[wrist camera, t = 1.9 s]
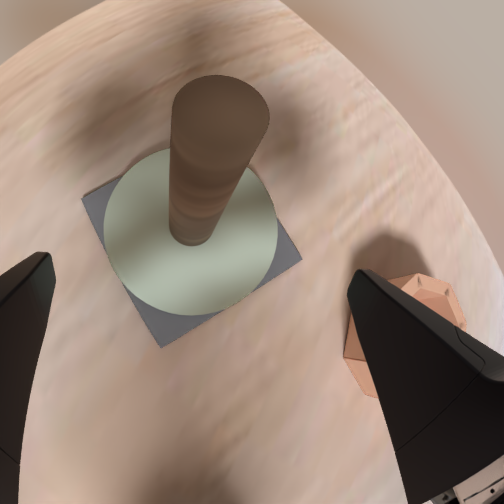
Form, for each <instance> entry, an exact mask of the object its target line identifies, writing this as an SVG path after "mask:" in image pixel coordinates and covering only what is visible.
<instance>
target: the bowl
mask: <svg viewBox="0 0 504 504" xmlns="http://www.w3.org/2000/svg"><path fill="white" fill-rule="evenodd" d="M387 281H389V282H390V283H392V284H393V285H395V286H397V287H398V288H400V289H401V290H403V291H404V292H406V293H407V294H409V295H411V296H412V297H414V298H415V299H417V300H418V301H420V302H421V303H423V304H424V305H426V306H427V307H429V308H430V309H432V310H433V311H435V312H436V313H438V314H439V315H441V316H442V317H444V318H445V319H447V320H448V321H450V322H451V323H453V325H456V326H457V327H459V328H460V329H462V330H463V331H464V332H466V325H467V324H466V320H465V317H464V315H463V312H462V310H461V308H460V305H459V303H458V300H457V298H456V296H455V293H454V291H453V289H452V287H451V285H450V284H449V283H447V282H444V281H441V280H438V279H435V278H432V277H429V276H426V275H423V274H420V273H416V274H412V275H407V276H403V277H398V278H394V279H389V280H387ZM343 357H344V360H345V362H346V363H347V365H348V367H349V368H350V370H351V372H352V373H353V375H354V377H355V379H356V380H357V382H358V384H359V386H360V387H361V389H362V391H363V392H364V394H365V395H368V396H372V397H375V398H378V395H377V392H376V389H375V386H374V383H373V380H372V377H371V374H370V371H369V368H368V365H367V362H366V359H365V356H364V354H363V351H362V348H361V345H360V342H359V339H358V336H357V332H356V328H355V324H354V320H353V317H352V313H351V317H350V323H349V329H348V334H347V340H346V345H345V350H344V356H343ZM378 399H379V398H378Z"/></svg>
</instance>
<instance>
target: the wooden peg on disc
mask: <svg viewBox="0 0 504 504" xmlns="http://www.w3.org/2000/svg"><path fill="white" fill-rule="evenodd" d="M268 125H269V110H268V107H267V104H266V102H265V100H264V99H263V97H262V96H261V95H260V93H259V92H258V91H257V90H255V89H254V88H253V87H252V86H250V85H249V84H247V83H245V82H243V81H241V80H239V79H236V78H233V77H229V76H222V75H211V76H204V77H201V78H198V79H195V80H193V81H191V82H189V83H188V84H186V85H185V86H184V87H183V88H181V89H180V91H179V92H178V93H177V95H176V97H175V99H174V102H173V106H172V120H171V139H170V148H168V149H164V150H161V151H158V152H156V153H153V154H151V155H149V156H147V157H146V158H144V159H142V160H141V161H139V162H138V163H137V164H135V165H134V166H133V167H132V168H131V169H130V170H129V171H127V172H126V173H125V175H124V176H123V177H122V178H121V180H120V181H119V182H118V184H117V185H116V187H115V189H114V190H113V192H112V194H111V197H110V199H109V201H108V205H107V208H106V211H105V218H104V242H105V248H106V251H107V255H108V258H109V261H110V263H111V265H112V267H113V269H114V271H115V273H116V274H117V276H118V278H119V279H120V280H121V281H122V283H123V284H124V285H125V286H126V287H127V288H128V289H129V290H130V291H131V292H132V293H133V294H134V295H135V296H136V297H138V298H139V299H141V300H142V301H144V302H145V303H147V304H149V305H151V306H153V307H155V308H157V309H159V310H162V311H165V312H168V313H173V314H178V315H204V314H209V313H213V312H217V311H220V310H223V309H226V308H228V307H230V306H232V305H234V304H236V303H237V302H239V301H240V300H242V299H243V298H245V297H246V296H247V295H249V294H250V293H251V292H252V291H253V290H254V289H255V288H256V287H257V285H258V284H259V283H260V282H261V280H262V279H263V278H264V276H265V274H266V273H267V271H268V269H269V267H270V265H271V263H272V260H273V258H274V254H275V250H276V245H277V238H278V225H277V218H276V213H275V209H274V205H273V203H272V200H271V198H270V195H269V194H268V192H267V190H266V188H265V186H264V185H263V184H262V182H261V181H260V180H259V178H258V177H257V176H256V175H255V174H254V173H253V172H252V171H251V170H250V169H249V168H248V167H247V165H248V164H249V162H250V160H251V158H252V156H253V154H254V152H255V151H256V149H257V147H258V145H259V143H260V141H261V139H262V138H263V136H264V134H265V132H266V130H267V128H268Z"/></svg>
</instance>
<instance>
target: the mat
mask: <svg viewBox="0 0 504 504" xmlns="http://www.w3.org/2000/svg"><path fill="white" fill-rule="evenodd" d="M122 177H123V176H122ZM122 177H120V178H118V179H116V180H114V181H112V182H110V183H109V184H107V185H105V186H103V187H101V188H99V189H98V190H96V191H94V192H92V193H91V194H89V195H87V196H85V197H84V198H82V199H81V200H82V202H83V204H84V207H85V209H86V211H87V213H88V215H89V218H90V220H91V222H92V224H93V226H94V228H95V230H96V233H97V235H98V237H99V239H100V241H101V243H102V245H103V247H104V249H105V251H106V248H105V242H104V218H105V211H106V208H107V205H108V201H109V199H110V197H111V194H112V192H113V190H114V189H115V187H116V185H117V184H118V182H119V181H120V180H121V178H122ZM276 218H277V217H276ZM277 225H278V238H277V245H276V250H275V254H274V258H273V260H272V263H271V265H270V267H269V269H268V271H267V273H266V274H265V276H264V278H263V279H262V280H261V282H260V283H259V284H258V285H257V287H256V288H255V289H254V290H253V291H255V290H256V289H258V288H259V287H261V286H262V285H264V284H265V283H267V282H269V281H270V280H272V279H273V278H275V277H276V276H278V275H279V274H281V273H282V272H284V271H286V270H287V269H289V268H290V267H292V266H293V265H295V264H296V263H298V262H299V261H301V260H302V257H301V256H300V254H299V253H298V251H297V249H296V248H295V246H294V244H293V243H292V241H291V240H290V238H289V236H288V235H287V233H286V232H285V230H284V228H283V227H282V225H281V224H280V222H279V220H278V219H277ZM106 253H107V251H106ZM121 282H122V281H121ZM122 284H123V283H122ZM123 285H124V284H123ZM124 287H125V289H126V291H127V293H128V294H129V296H130V298H131V300H132V302H133V303H134V305H135V307H136V308H137V310H138V312H139V314H140V315H141V317H142V319H143V320H144V322H145V324H146V325H147V327H148V329H149V330H150V332H151V334H152V335H153V337H154V339H155V340H156V342H157V343H158V345H159V346H160V348H162V347H164V346H166V345H167V344H169V343H171V342H172V341H174V340H176V339H177V338H179V337H181V336H182V335H184V334H186V333H187V332H189V331H190V330H192V329H194V328H195V327H197V326H199V325H200V324H202V323H203V322H205V321H207V320H208V319H210V318H212V317H213V316H215V315H216V314H218V313H220V312H221V311H223V310H224V309H223V310H220V311H217V312H213V313H209V314H204V315H178V314H173V313H168V312H165V311H162V310H159V309H157V308H155V307H153V306H151V305H149V304H147V303H145V302H144V301H142V300H141V299H139V298H138V297H136V296H135V295H134V294H133V293H132V292H131V291H130V290H129V289H128V288H127V287H126V286H125V285H124ZM253 291H252V292H253Z"/></svg>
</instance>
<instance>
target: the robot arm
mask: <svg viewBox="0 0 504 504" xmlns="http://www.w3.org/2000/svg"><path fill="white" fill-rule="evenodd" d="M55 284H56V276H55V271H54V267H53V262H52V257H51V255H50V253H48V252H35V253H34V254H32V255H31V256H29V257H28V258H26V259H25V260H23V261H21V262H20V263H18V264H17V265H15V266H14V267H12V268H11V269H9V270H8V271H6V272H5V273H3V274H2V275H1V276H0V504H18V492H19V474H20V460H21V450H22V442H23V434H24V427H25V421H26V415H27V409H28V403H29V398H30V393H31V388H32V384H33V379H34V375H35V370H36V366H37V362H38V358H39V354H40V350H41V347H42V343H43V339H44V336H45V332H46V328H47V323H48V317H49V312H50V307H51V302H52V298H53V293H54V289H55ZM347 297H348V301H349V305H350V309H351V313H352V317H353V320H354V324H355V328H356V332H357V336H358V339H359V342H360V345H361V348H362V351H363V354H364V356H365V359H366V362H367V365H368V368H369V371H370V374H371V377H372V380H373V383H374V386H375V389H376V392H377V395H378V398H379V401H380V404H381V408H382V411H383V414H384V417H385V421H386V424H387V427H388V430H389V434H390V437H391V441H392V444H393V448H394V451H395V455H396V459H397V462H398V466H399V470H400V474H401V477H402V481H403V485H404V489H405V493H406V497H407V501H408V504H423V503H425V502H427V501H429V500H431V499H433V498H435V497H437V496H438V495H440V494H442V493H444V492H446V491H448V490H450V489H451V488H453V489H454V491H455V494H456V496H455V497H454V498H452V499H451V500H449V501H447V502H446V503H444V504H504V356H502V355H500V354H499V353H497V352H496V351H494V350H492V349H491V348H489V347H488V346H486V345H484V344H483V343H481V342H480V341H478V340H477V339H475V338H473V337H472V336H470V335H469V334H467V333H466V332H464V331H463V330H462V329H460V328H459V327H457V326H456V325H453V323H451V322H450V321H448V320H447V319H445V318H444V317H442V316H441V315H439V314H438V313H436V312H435V311H433V310H432V309H430V308H429V307H427V306H426V305H424V304H423V303H421V302H420V301H418V300H417V299H415V298H414V297H412V296H411V295H409V294H407V293H406V292H404V291H403V290H401V289H400V288H398V287H397V286H395V285H393V284H392V283H390V282H389V281H387V280H386V279H384V278H382V277H381V276H379V275H378V274H376V273H375V272H373V271H371V270H369V269H358V270H357V271H356V272H355V274H354V276H353V279H352V281H351V283H350V285H349V288H348V291H347Z"/></svg>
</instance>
